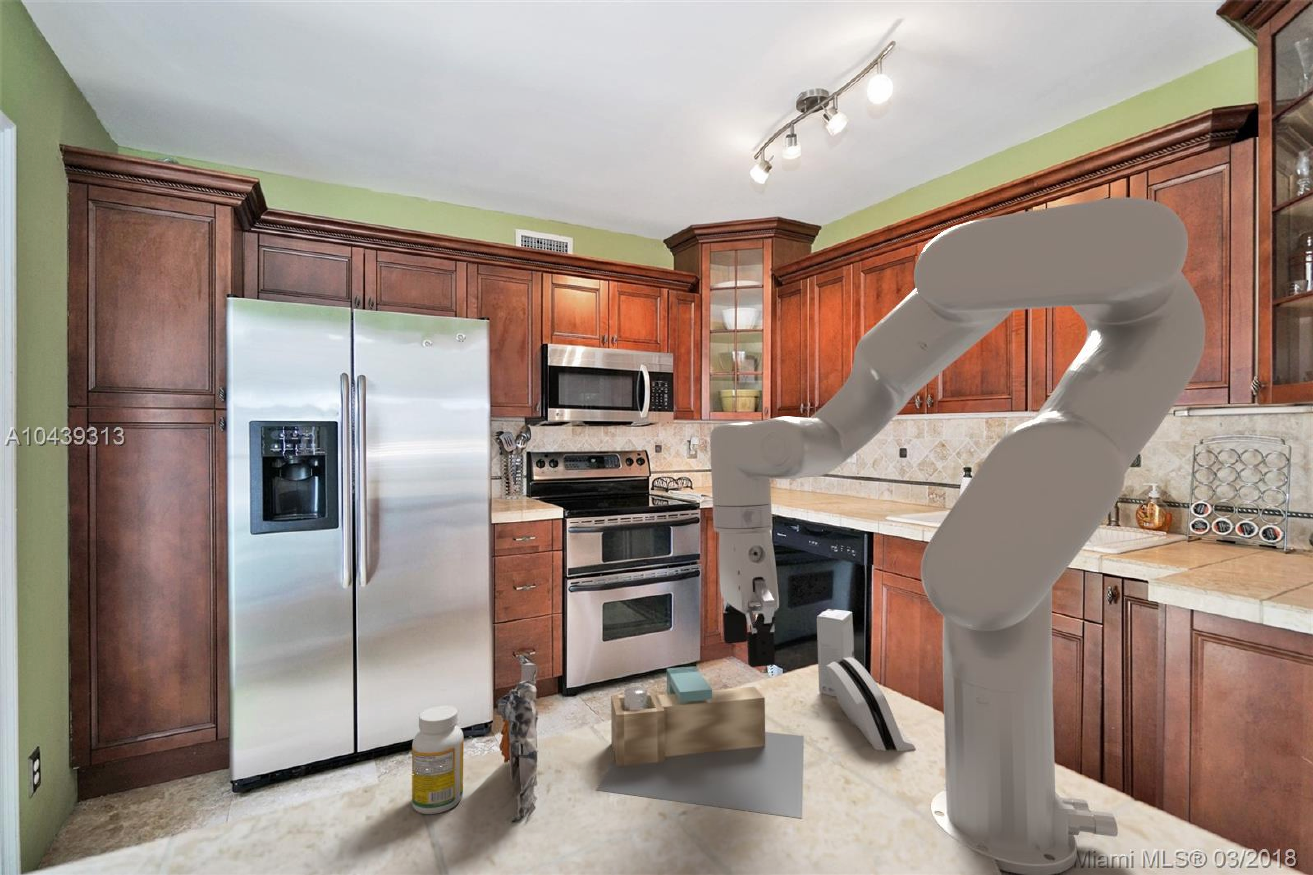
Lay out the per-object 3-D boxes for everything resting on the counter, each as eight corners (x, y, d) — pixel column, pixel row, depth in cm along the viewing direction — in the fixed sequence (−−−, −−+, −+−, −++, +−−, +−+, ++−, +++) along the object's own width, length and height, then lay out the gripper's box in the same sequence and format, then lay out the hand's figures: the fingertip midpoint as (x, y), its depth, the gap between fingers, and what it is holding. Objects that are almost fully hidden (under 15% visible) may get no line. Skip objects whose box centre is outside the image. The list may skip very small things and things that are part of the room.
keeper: (680, 759, 72) (680, 692, 72) (667, 729, 80) (666, 668, 80) (712, 755, 73) (712, 689, 73) (696, 726, 81) (695, 666, 81)
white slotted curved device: (921, 760, 73) (891, 683, 74) (884, 774, 73) (855, 697, 74) (872, 704, 90) (848, 641, 90) (842, 715, 90) (819, 652, 90)
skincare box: (845, 699, 92) (844, 620, 92) (817, 693, 94) (815, 616, 94) (856, 686, 97) (855, 611, 97) (829, 680, 99) (827, 607, 100)
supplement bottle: (440, 820, 62) (440, 727, 62) (400, 809, 64) (400, 719, 64) (473, 793, 67) (473, 707, 67) (436, 783, 69) (436, 700, 69)
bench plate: (803, 745, 77) (803, 736, 77) (802, 830, 60) (802, 818, 60) (640, 727, 83) (640, 719, 83) (596, 801, 65) (595, 790, 65)
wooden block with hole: (616, 766, 70) (616, 715, 70) (611, 743, 76) (611, 695, 76) (768, 750, 74) (767, 701, 74) (752, 729, 79) (751, 683, 80)
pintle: (650, 748, 75) (649, 687, 75) (644, 759, 72) (643, 696, 72) (628, 745, 75) (628, 685, 76) (622, 756, 73) (621, 694, 73)
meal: (503, 762, 74) (502, 655, 74) (538, 758, 75) (537, 653, 75) (494, 838, 59) (494, 705, 60) (538, 832, 60) (538, 701, 61)
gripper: (797, 523, 69) (804, 673, 68) (747, 512, 86) (752, 632, 85) (735, 526, 68) (742, 679, 67) (697, 515, 85) (702, 637, 84)
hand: (748, 653), depth 76 cm, fingers open, 9 cm apart
